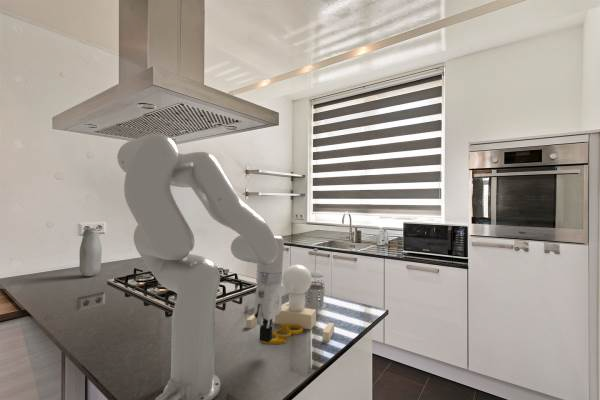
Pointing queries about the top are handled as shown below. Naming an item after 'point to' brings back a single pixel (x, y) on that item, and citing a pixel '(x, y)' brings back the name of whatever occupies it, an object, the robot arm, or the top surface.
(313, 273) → the french press
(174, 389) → the robot arm
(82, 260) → the glass bottle
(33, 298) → the top surface
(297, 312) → the cream blocks and ball
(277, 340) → the novelty glasses
